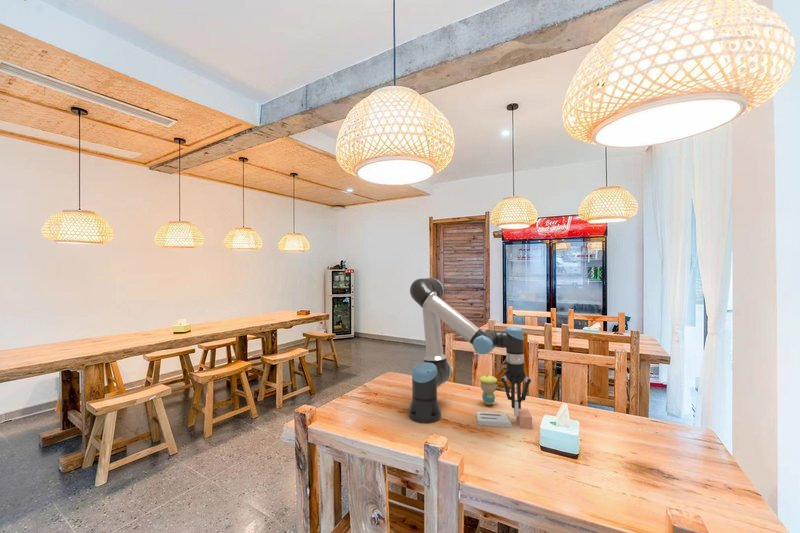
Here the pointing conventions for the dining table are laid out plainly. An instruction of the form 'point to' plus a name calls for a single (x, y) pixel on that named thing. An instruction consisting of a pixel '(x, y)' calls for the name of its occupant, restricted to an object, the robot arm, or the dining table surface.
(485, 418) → the grey slotted block
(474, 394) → the dining table surface
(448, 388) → the dining table surface
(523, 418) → the stub
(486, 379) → the toy
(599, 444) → the dining table surface
